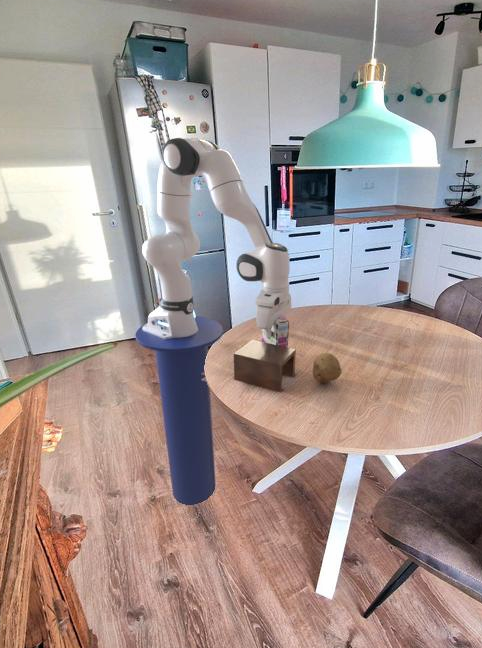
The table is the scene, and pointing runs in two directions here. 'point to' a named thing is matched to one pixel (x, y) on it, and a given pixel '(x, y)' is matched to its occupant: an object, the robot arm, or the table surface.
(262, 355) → the walnut shelf
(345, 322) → the table surface
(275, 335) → the candy bar box
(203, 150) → the robot arm
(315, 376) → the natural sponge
